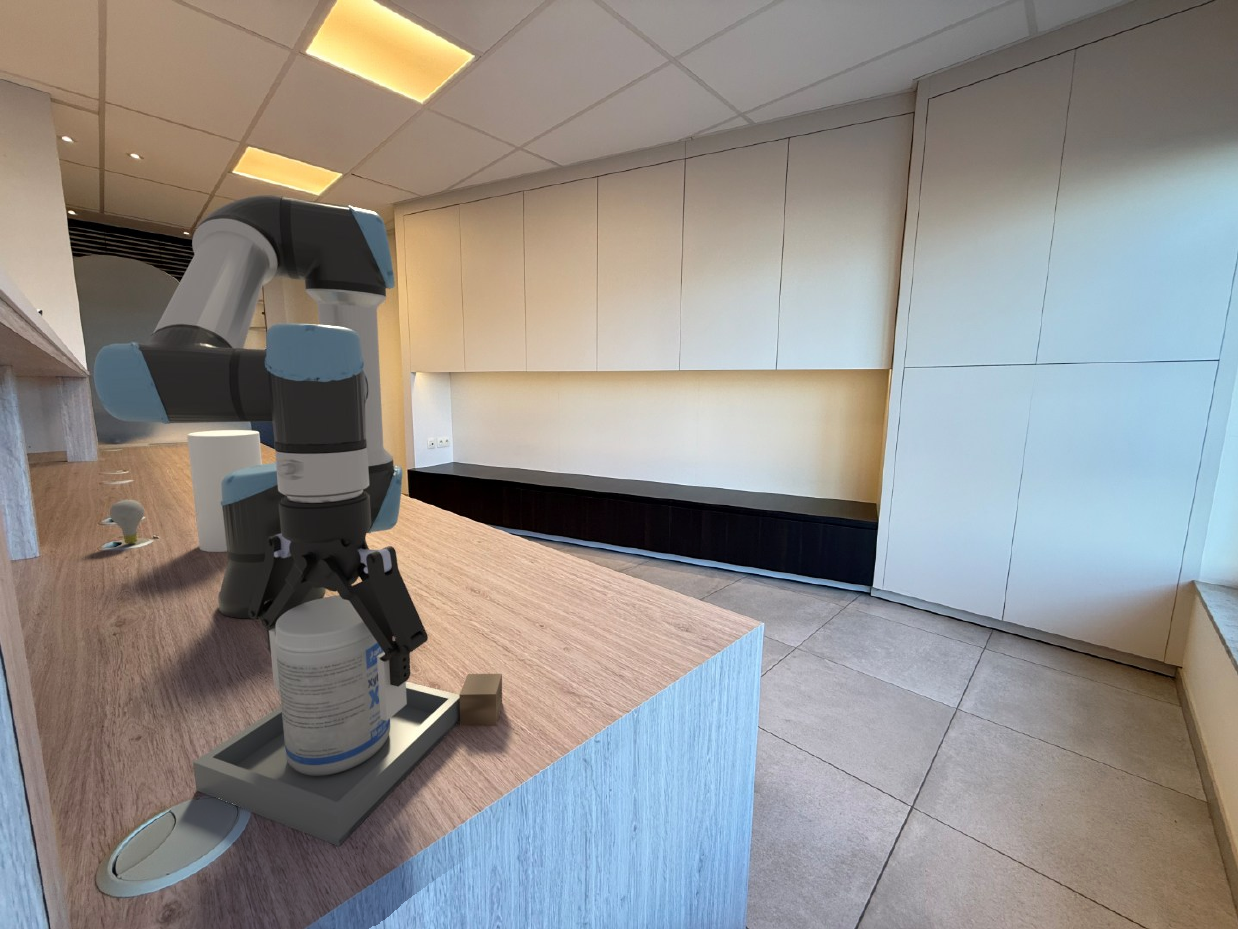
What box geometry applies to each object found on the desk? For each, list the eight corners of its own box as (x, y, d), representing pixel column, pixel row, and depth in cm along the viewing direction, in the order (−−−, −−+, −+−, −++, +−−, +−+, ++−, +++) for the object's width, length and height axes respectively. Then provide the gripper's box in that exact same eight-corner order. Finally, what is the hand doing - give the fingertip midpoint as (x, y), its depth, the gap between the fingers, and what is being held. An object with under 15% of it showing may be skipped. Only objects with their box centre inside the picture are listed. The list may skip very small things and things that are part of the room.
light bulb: (131, 548, 109) (125, 503, 108) (106, 547, 109) (100, 502, 108) (155, 540, 115) (149, 497, 113) (131, 539, 115) (125, 496, 113)
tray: (196, 790, 47) (192, 762, 47) (345, 688, 63) (344, 666, 63) (339, 846, 42) (337, 815, 42) (462, 719, 58) (461, 695, 58)
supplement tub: (398, 756, 51) (391, 621, 49) (286, 797, 46) (272, 647, 44) (382, 705, 59) (375, 585, 57) (285, 734, 54) (273, 604, 52)
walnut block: (460, 727, 57) (459, 694, 56) (468, 704, 61) (467, 674, 60) (496, 726, 57) (495, 694, 57) (502, 704, 61) (501, 673, 60)
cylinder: (256, 549, 110) (245, 436, 106) (187, 553, 107) (174, 436, 103) (276, 533, 122) (267, 430, 118) (215, 536, 119) (204, 430, 115)
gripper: (190, 488, 48) (213, 691, 52) (405, 517, 41) (415, 752, 44) (266, 475, 55) (282, 654, 59) (461, 497, 48) (466, 701, 51)
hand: (339, 697), depth 52 cm, fingers open, 13 cm apart
